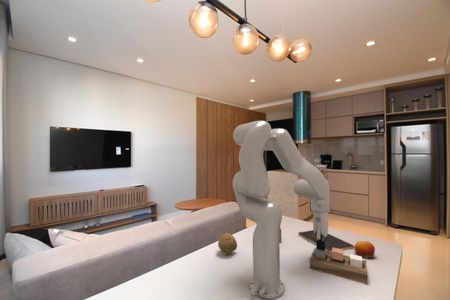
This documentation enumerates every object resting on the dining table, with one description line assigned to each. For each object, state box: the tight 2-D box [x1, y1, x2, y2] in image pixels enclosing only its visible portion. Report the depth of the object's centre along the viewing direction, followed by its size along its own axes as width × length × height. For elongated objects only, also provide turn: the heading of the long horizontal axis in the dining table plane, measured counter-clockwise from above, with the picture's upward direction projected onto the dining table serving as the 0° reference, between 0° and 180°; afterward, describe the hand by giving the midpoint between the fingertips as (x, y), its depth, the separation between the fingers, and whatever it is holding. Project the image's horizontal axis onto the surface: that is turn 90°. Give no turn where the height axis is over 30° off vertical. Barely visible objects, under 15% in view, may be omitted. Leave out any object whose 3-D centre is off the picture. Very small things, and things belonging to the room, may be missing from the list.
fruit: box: [353, 240, 376, 259], centre depth 95 cm, size 8×8×8 cm
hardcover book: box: [298, 229, 355, 252], centre depth 111 cm, size 16×23×2 cm
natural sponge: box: [217, 232, 238, 256], centre depth 97 cm, size 9×9×10 cm
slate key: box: [314, 246, 326, 259], centre depth 88 cm, size 4×4×3 cm
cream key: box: [349, 253, 363, 269], centre depth 81 cm, size 4×4×3 cm
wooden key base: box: [309, 248, 369, 285], centre depth 84 cm, size 12×20×4 cm, turn 57°
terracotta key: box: [332, 247, 344, 261], centre depth 85 cm, size 4×4×3 cm
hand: (320, 249), depth 88 cm, fingers closed
